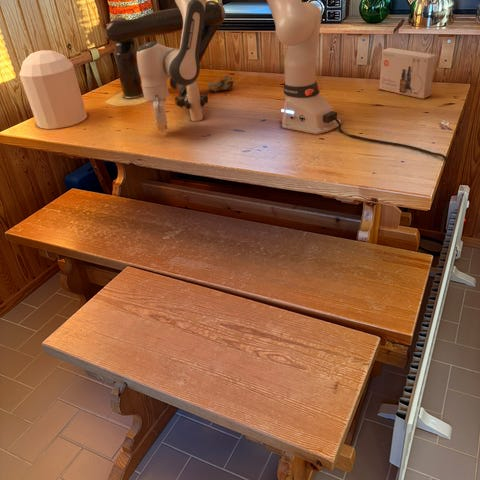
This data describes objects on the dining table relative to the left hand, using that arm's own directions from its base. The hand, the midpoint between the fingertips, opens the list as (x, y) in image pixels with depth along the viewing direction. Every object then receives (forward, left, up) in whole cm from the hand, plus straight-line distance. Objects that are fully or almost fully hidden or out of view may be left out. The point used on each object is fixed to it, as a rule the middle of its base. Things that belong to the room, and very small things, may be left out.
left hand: (196, 105), depth 178 cm
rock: (-24, +31, -6) cm, 40 cm away
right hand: (+1, -17, -4) cm, 17 cm away
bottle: (-2, +1, -6) cm, 7 cm away
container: (-50, -36, -6) cm, 61 cm away
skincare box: (+44, +72, -6) cm, 85 cm away
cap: (+1, -17, -2) cm, 17 cm away
